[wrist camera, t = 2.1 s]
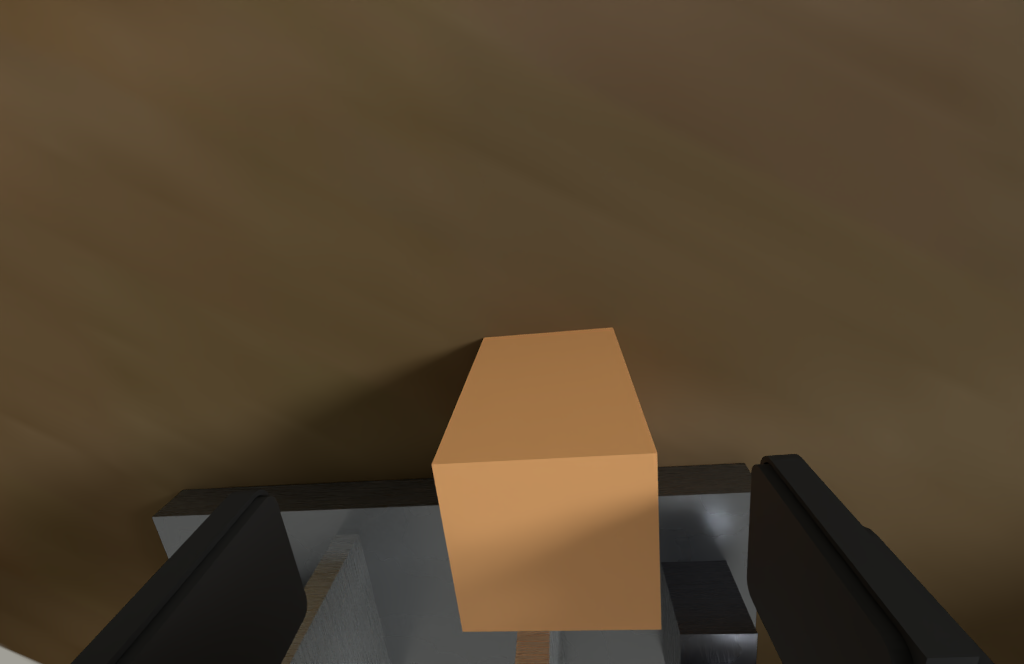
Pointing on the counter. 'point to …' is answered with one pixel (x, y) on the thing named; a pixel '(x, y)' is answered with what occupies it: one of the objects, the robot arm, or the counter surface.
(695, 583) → the shaft stand
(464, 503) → the orange block
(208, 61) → the counter surface
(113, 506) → the counter surface
